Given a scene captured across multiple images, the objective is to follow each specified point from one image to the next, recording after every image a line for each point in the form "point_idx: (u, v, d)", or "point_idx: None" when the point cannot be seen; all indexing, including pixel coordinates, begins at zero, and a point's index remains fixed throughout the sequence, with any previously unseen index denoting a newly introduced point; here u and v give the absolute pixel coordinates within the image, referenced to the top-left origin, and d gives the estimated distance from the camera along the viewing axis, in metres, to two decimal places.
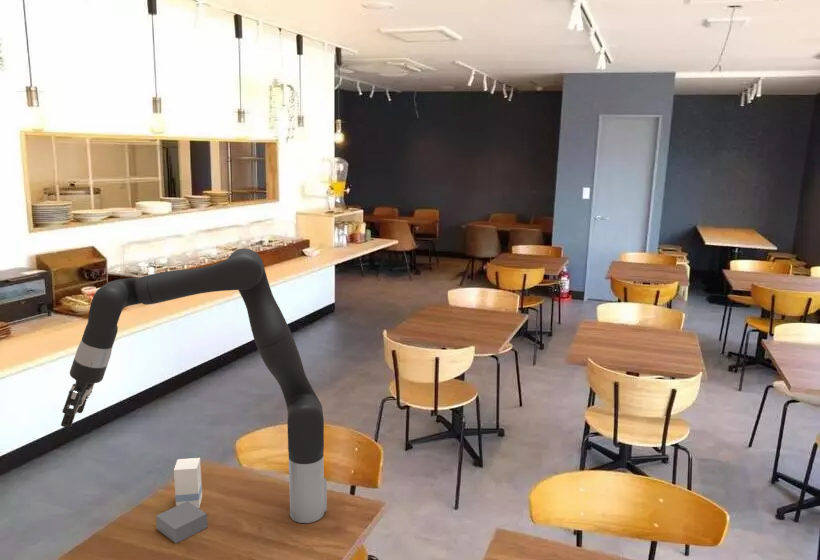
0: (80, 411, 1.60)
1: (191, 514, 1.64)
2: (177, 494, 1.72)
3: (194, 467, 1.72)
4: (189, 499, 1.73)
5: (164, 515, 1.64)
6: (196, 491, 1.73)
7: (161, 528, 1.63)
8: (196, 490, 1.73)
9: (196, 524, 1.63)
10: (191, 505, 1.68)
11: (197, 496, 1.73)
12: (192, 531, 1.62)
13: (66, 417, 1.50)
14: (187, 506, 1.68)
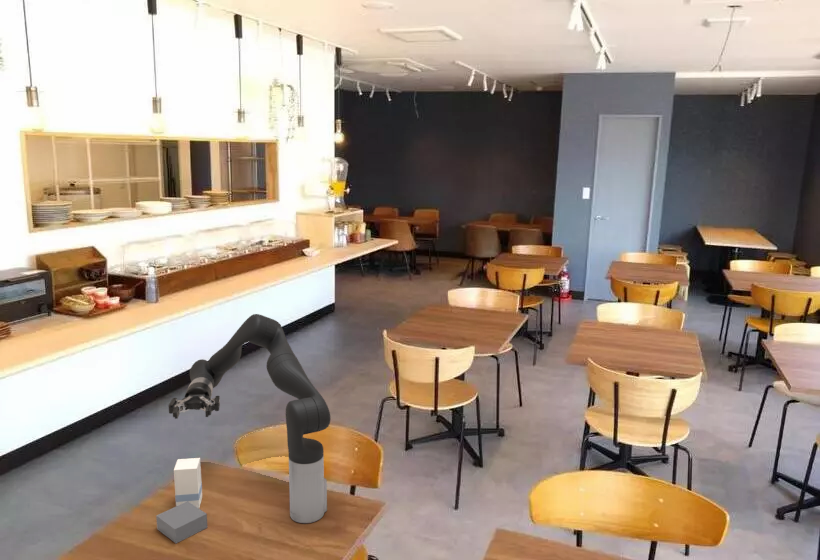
0: None
1: (191, 514, 1.64)
2: (177, 494, 1.72)
3: (194, 467, 1.72)
4: (189, 499, 1.73)
5: (164, 515, 1.64)
6: (196, 491, 1.73)
7: (161, 528, 1.63)
8: (196, 490, 1.73)
9: (196, 524, 1.63)
10: (191, 505, 1.68)
11: (197, 496, 1.73)
12: (192, 531, 1.62)
13: None
14: (187, 506, 1.68)
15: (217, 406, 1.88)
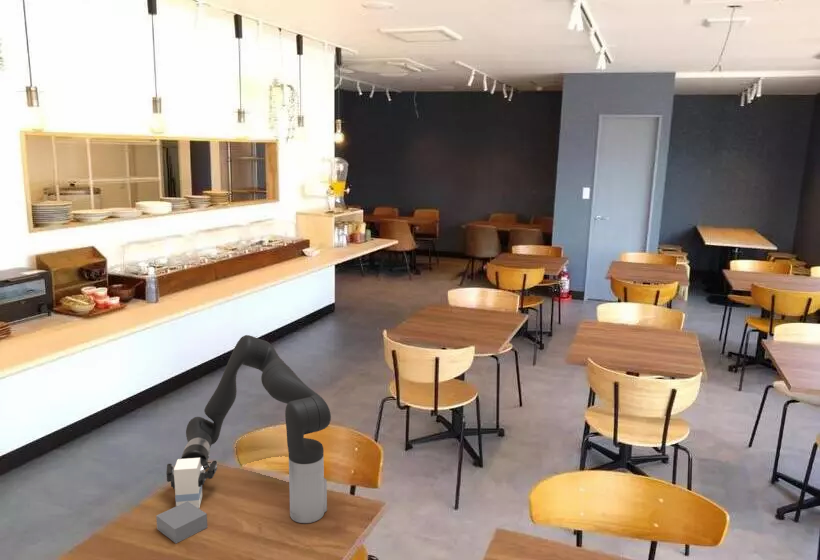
0: (198, 480, 1.73)
1: (191, 514, 1.64)
2: (177, 494, 1.72)
3: (194, 467, 1.72)
4: (189, 498, 1.73)
5: (164, 515, 1.64)
6: (196, 491, 1.73)
7: (161, 528, 1.63)
8: (196, 490, 1.73)
9: (196, 524, 1.63)
10: (191, 505, 1.68)
11: (197, 496, 1.73)
12: (192, 531, 1.62)
13: None
14: (187, 506, 1.68)
15: (210, 473, 1.78)
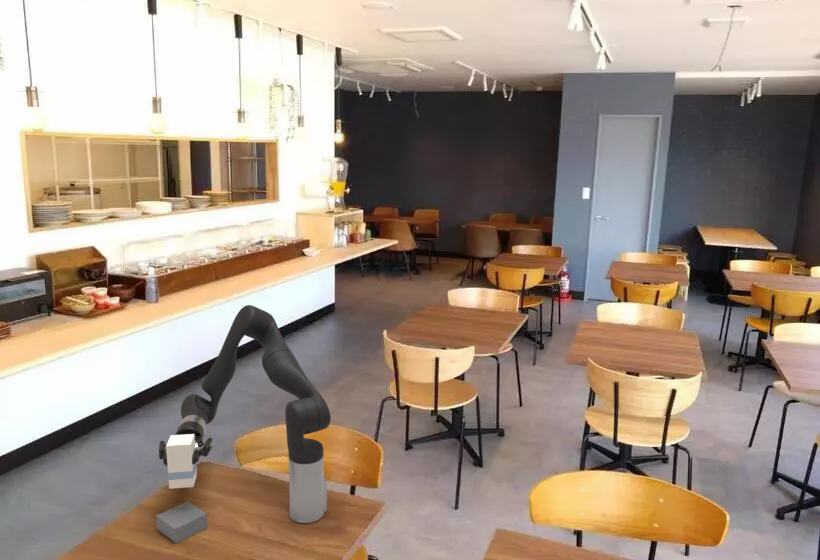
0: (192, 457, 1.64)
1: (191, 514, 1.64)
2: (170, 471, 1.63)
3: (188, 443, 1.63)
4: (183, 476, 1.64)
5: (164, 515, 1.64)
6: (190, 469, 1.64)
7: (161, 528, 1.63)
8: (190, 467, 1.63)
9: (196, 524, 1.63)
10: (191, 505, 1.68)
11: (191, 474, 1.64)
12: (192, 531, 1.62)
13: None
14: (187, 506, 1.68)
15: (205, 451, 1.69)
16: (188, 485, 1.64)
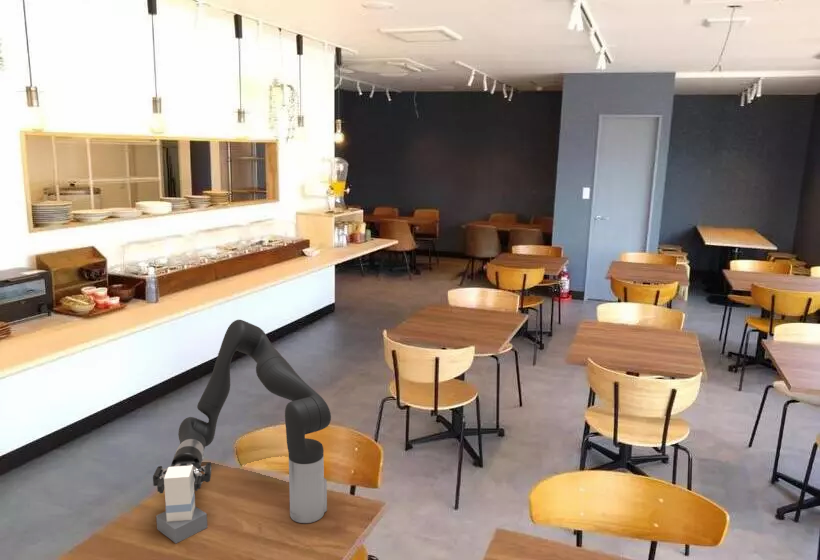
0: (194, 484, 1.61)
1: None
2: (168, 504, 1.60)
3: (186, 475, 1.60)
4: (181, 509, 1.61)
5: (164, 515, 1.64)
6: (188, 501, 1.61)
7: (161, 528, 1.63)
8: (188, 500, 1.61)
9: (196, 524, 1.63)
10: None
11: (189, 507, 1.61)
12: (192, 531, 1.62)
13: None
14: None
15: (208, 476, 1.66)
16: (186, 518, 1.62)
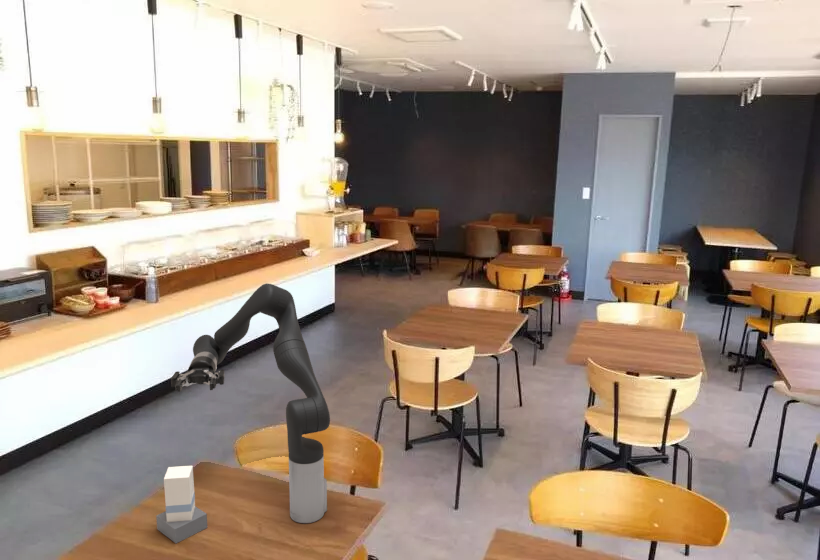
0: (209, 384, 1.76)
1: None
2: (168, 504, 1.60)
3: (186, 476, 1.60)
4: (181, 510, 1.61)
5: (164, 515, 1.64)
6: (188, 502, 1.61)
7: (161, 528, 1.63)
8: (188, 500, 1.61)
9: (196, 524, 1.63)
10: None
11: (189, 507, 1.61)
12: (192, 531, 1.62)
13: None
14: None
15: (222, 379, 1.80)
16: (186, 518, 1.62)
